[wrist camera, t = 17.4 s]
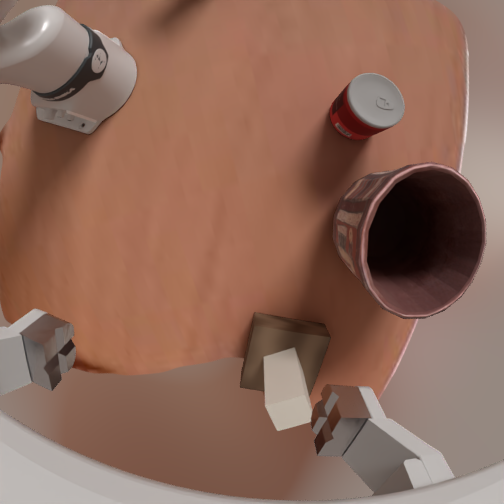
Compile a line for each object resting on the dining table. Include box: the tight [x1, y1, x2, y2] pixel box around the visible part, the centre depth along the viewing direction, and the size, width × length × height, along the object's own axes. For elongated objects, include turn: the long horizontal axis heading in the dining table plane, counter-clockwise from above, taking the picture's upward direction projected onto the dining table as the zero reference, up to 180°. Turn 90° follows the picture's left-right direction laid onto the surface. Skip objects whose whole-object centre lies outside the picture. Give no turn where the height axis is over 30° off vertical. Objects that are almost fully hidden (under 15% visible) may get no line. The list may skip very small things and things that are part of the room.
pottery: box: [333, 162, 486, 319], centre depth 36 cm, size 18×18×18 cm
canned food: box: [330, 73, 405, 140], centre depth 36 cm, size 8×8×11 cm
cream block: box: [264, 347, 312, 431], centre depth 39 cm, size 5×5×12 cm
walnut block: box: [240, 312, 331, 397], centre depth 47 cm, size 12×12×5 cm
